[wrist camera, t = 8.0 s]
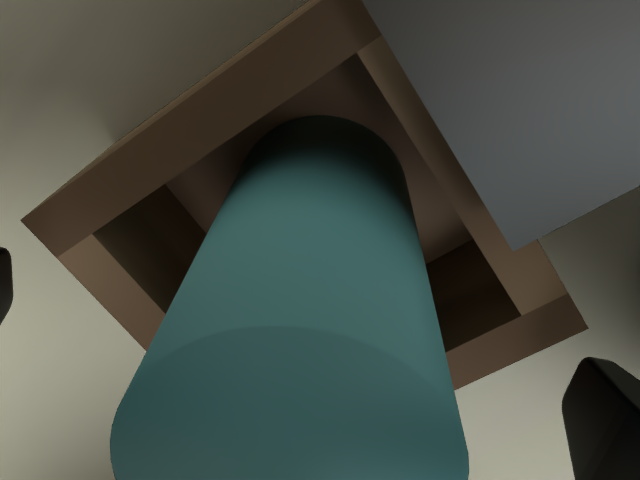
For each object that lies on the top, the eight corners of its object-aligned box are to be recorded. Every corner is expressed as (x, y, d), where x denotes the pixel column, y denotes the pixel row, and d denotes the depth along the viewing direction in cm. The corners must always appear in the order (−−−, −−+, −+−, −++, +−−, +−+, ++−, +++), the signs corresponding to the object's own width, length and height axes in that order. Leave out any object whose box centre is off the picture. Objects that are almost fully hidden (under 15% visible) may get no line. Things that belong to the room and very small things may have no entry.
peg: (439, 223, 14) (531, 516, 7) (301, 300, 15) (253, 622, 8) (347, 78, 12) (337, 256, 5) (202, 176, 14) (34, 429, 6)
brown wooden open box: (718, 122, 13) (975, 244, 8) (287, 351, 17) (256, 547, 11) (545, -309, 10) (770, -608, 5) (61, 83, 14) (-136, 172, 8)
